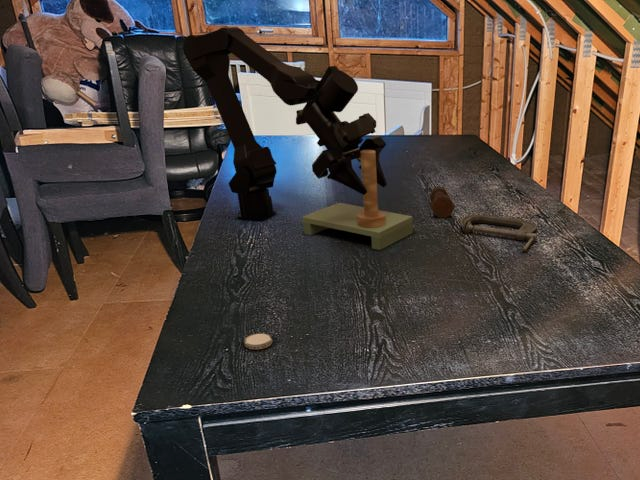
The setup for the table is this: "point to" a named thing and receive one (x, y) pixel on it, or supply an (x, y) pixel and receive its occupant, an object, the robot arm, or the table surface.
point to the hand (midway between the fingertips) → (375, 189)
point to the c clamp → (521, 234)
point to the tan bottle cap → (258, 341)
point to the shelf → (346, 220)
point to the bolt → (441, 202)
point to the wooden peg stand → (370, 193)
